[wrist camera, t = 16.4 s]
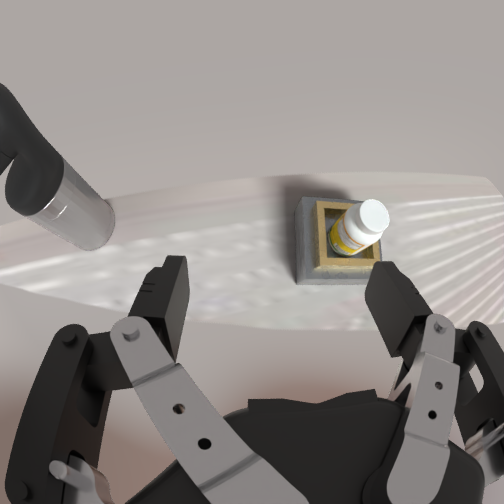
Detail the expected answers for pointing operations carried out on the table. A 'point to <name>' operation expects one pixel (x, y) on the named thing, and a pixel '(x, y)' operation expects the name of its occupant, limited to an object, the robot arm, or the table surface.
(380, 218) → the supplement bottle
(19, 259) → the table surface
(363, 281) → the gold-rimmed square tray
